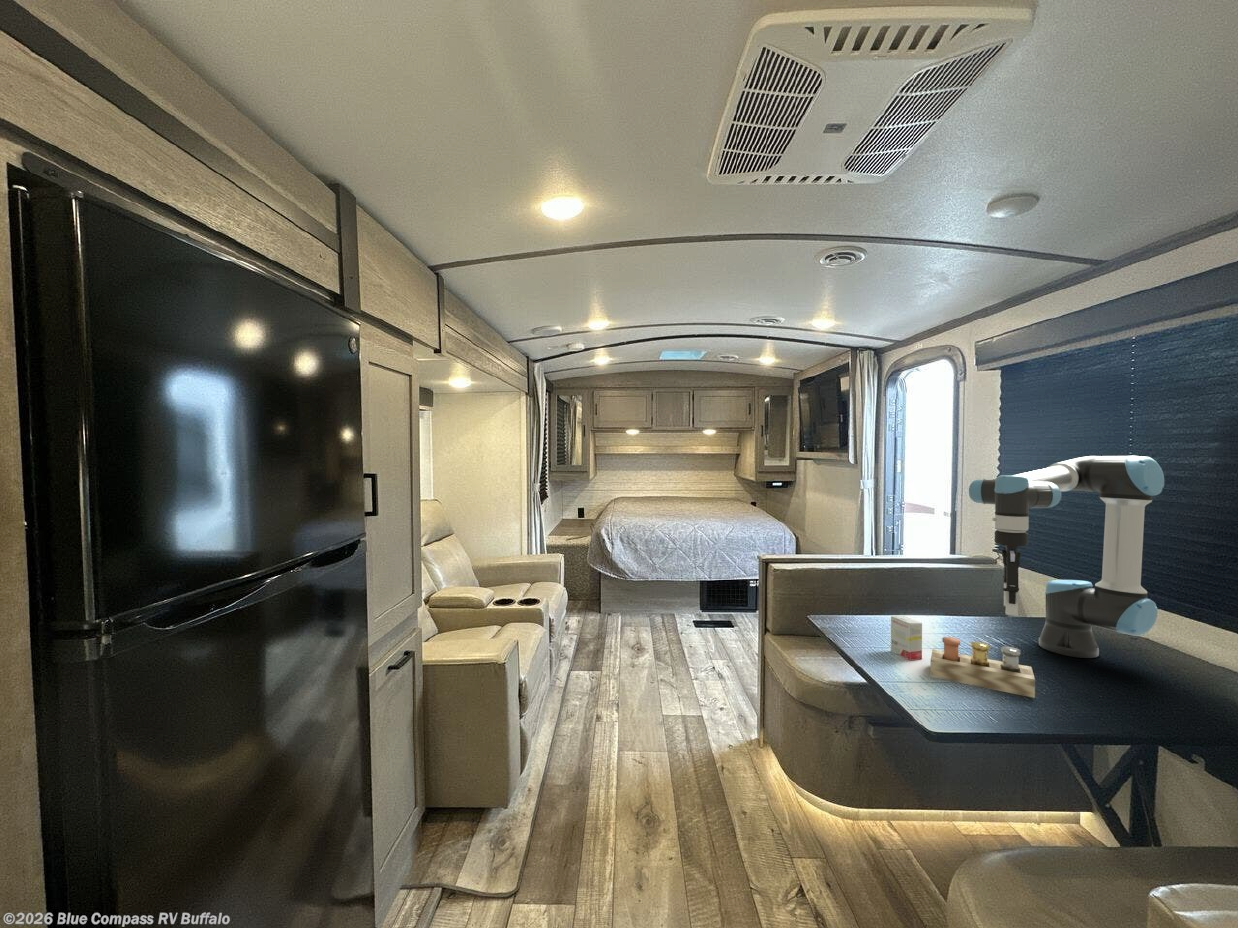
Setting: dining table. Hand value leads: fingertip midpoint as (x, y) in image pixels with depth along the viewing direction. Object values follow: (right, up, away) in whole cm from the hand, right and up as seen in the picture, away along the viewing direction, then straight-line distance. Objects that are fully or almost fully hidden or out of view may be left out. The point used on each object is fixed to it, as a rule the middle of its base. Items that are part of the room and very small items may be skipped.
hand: (1010, 610), depth 145 cm
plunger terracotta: (-12, -17, +8) cm, 22 cm away
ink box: (-16, -21, +23) cm, 36 cm away
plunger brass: (-6, -17, +4) cm, 19 cm away
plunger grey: (0, -17, 0) cm, 17 cm away
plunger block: (-6, -21, +4) cm, 23 cm away
